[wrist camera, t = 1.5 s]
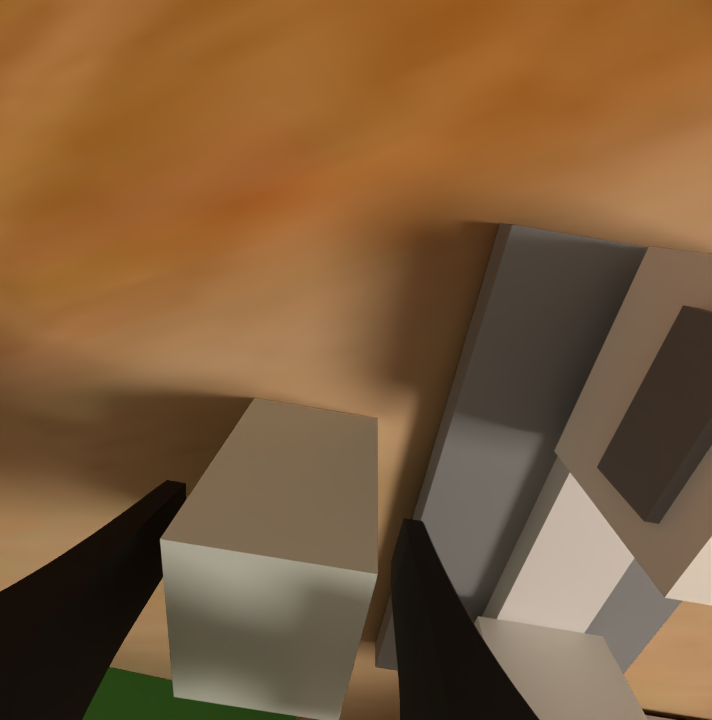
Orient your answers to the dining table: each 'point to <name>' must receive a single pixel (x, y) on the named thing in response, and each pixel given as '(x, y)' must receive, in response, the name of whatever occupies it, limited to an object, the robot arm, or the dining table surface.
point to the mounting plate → (525, 419)
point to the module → (275, 563)
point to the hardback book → (159, 702)
